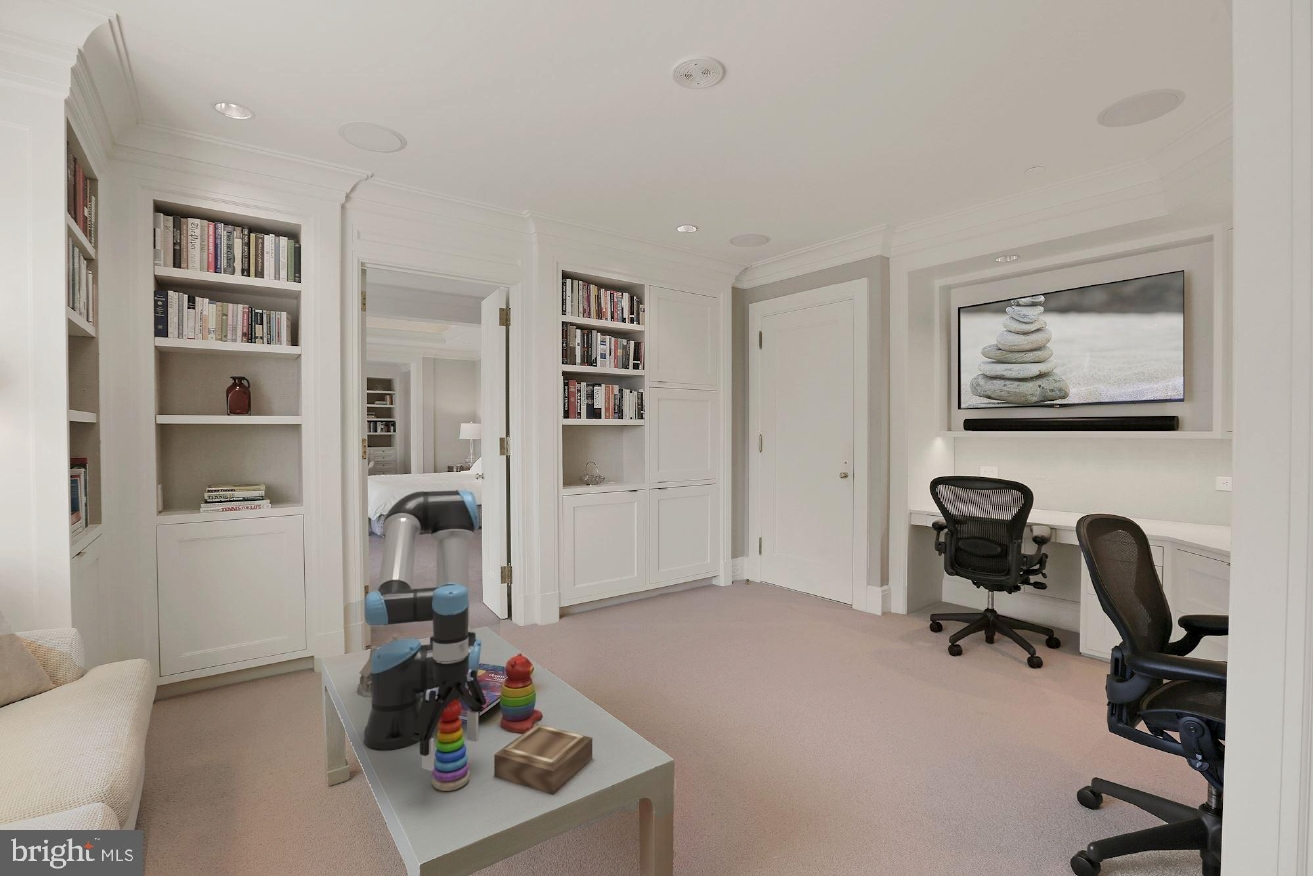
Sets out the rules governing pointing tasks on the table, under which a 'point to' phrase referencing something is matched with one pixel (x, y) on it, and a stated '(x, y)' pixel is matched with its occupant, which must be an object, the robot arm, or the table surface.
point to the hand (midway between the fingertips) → (451, 753)
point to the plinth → (543, 758)
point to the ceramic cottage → (368, 674)
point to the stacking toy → (450, 751)
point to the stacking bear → (518, 696)
